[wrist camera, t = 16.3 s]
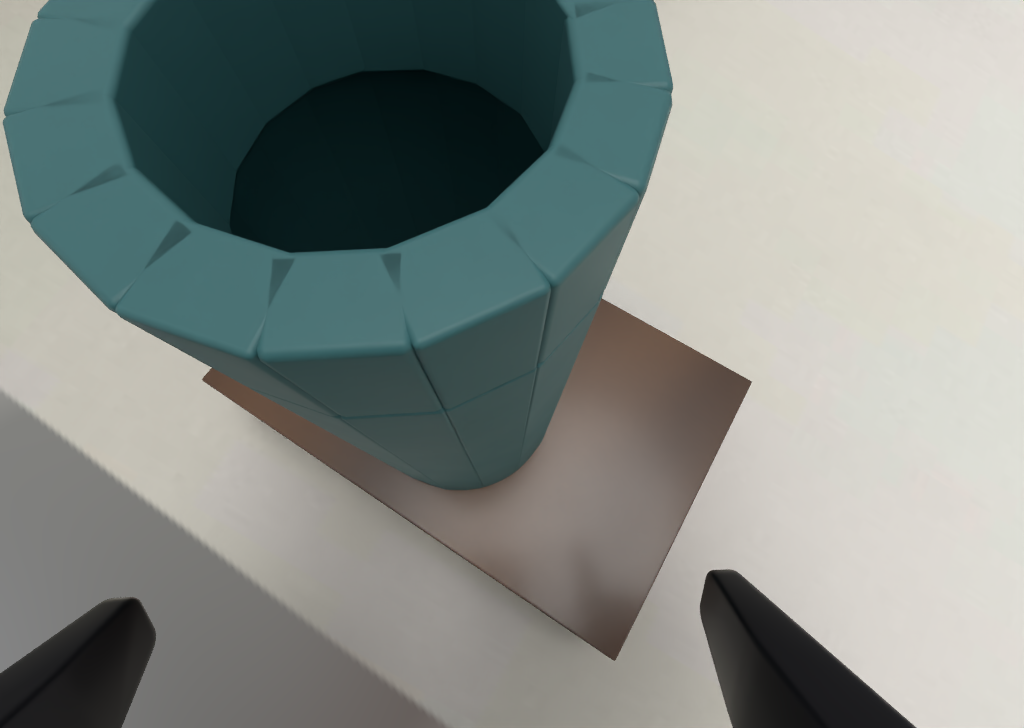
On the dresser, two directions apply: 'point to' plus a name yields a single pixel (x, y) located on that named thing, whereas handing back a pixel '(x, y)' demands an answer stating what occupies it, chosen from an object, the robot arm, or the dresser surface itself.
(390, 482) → the brown wooden pedestal
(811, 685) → the robot arm
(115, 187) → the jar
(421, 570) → the dresser surface
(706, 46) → the dresser surface
